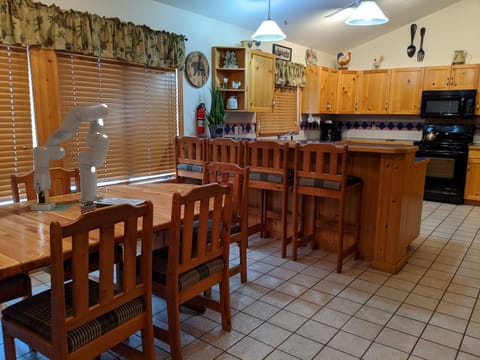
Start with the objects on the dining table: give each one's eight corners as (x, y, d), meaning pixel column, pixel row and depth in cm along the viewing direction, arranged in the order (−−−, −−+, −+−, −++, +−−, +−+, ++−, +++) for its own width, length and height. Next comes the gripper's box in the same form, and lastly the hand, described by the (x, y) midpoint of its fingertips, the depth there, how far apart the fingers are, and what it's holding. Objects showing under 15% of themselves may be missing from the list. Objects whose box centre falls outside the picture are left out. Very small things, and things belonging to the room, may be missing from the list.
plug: (49, 207, 209) (48, 189, 208) (46, 208, 205) (45, 190, 204) (41, 206, 209) (39, 189, 207) (37, 208, 205) (36, 190, 204)
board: (74, 206, 216) (74, 200, 216) (63, 212, 203) (63, 206, 202) (43, 206, 216) (43, 200, 216) (30, 212, 202) (29, 205, 202)
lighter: (94, 217, 195) (93, 198, 194) (97, 218, 193) (97, 199, 191) (79, 220, 189) (78, 201, 187) (82, 221, 187) (82, 202, 185)
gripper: (42, 167, 212) (44, 199, 215) (26, 171, 195) (28, 205, 198) (56, 167, 212) (57, 199, 215) (41, 171, 196) (43, 206, 199)
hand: (44, 202), depth 207 cm, fingers closed on plug, 3 cm apart
